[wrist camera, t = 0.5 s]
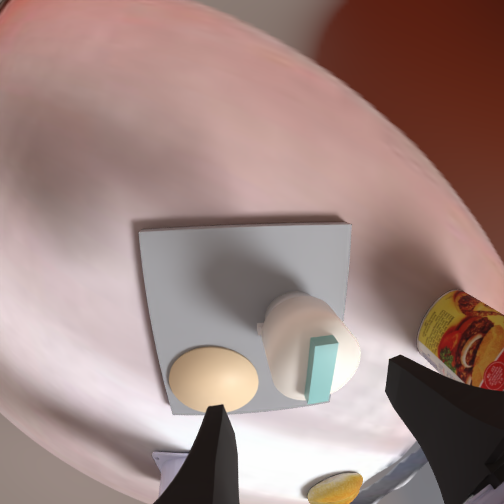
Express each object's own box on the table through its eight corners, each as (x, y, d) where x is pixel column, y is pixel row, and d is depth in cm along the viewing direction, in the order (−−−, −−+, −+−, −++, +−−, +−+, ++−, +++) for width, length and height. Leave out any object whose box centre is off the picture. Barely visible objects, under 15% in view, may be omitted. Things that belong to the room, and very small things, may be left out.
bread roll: (362, 464, 29) (372, 483, 25) (353, 487, 31) (361, 504, 27) (306, 480, 28) (313, 502, 24) (305, 501, 31) (310, 519, 27)
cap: (331, 356, 19) (357, 400, 14) (261, 365, 18) (273, 415, 14) (339, 292, 17) (374, 328, 13) (261, 298, 17) (275, 341, 12)
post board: (326, 395, 23) (336, 416, 21) (173, 407, 22) (170, 431, 19) (345, 222, 19) (365, 229, 16) (142, 229, 18) (129, 238, 15)
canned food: (477, 305, 24) (550, 354, 12) (439, 364, 25) (501, 426, 13) (448, 276, 22) (542, 330, 10) (403, 345, 23) (478, 424, 12)
